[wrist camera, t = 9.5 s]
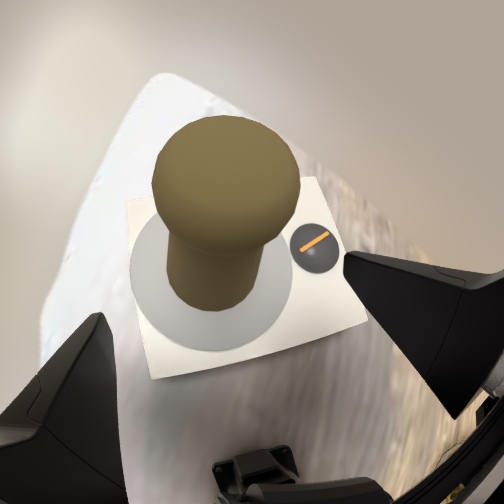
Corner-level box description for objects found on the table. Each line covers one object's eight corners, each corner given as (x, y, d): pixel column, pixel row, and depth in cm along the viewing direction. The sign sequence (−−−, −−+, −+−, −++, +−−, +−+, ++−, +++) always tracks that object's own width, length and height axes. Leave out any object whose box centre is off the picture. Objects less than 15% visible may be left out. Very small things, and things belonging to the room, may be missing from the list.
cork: (215, 208, 20) (236, 77, 10) (275, 269, 19) (358, 169, 9) (147, 261, 17) (99, 145, 7) (210, 331, 16) (227, 290, 6)
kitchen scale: (343, 327, 23) (373, 318, 19) (160, 375, 19) (149, 380, 15) (300, 199, 27) (318, 171, 23) (135, 225, 23) (123, 196, 19)
